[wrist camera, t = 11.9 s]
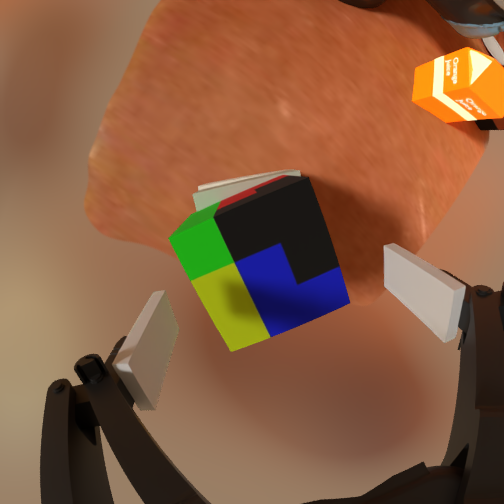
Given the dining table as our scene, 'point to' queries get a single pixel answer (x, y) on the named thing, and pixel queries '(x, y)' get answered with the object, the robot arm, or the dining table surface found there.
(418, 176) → the dining table surface
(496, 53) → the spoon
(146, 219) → the dining table surface
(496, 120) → the battery
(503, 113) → the orange juice
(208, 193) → the tower top
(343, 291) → the puzzle toy
